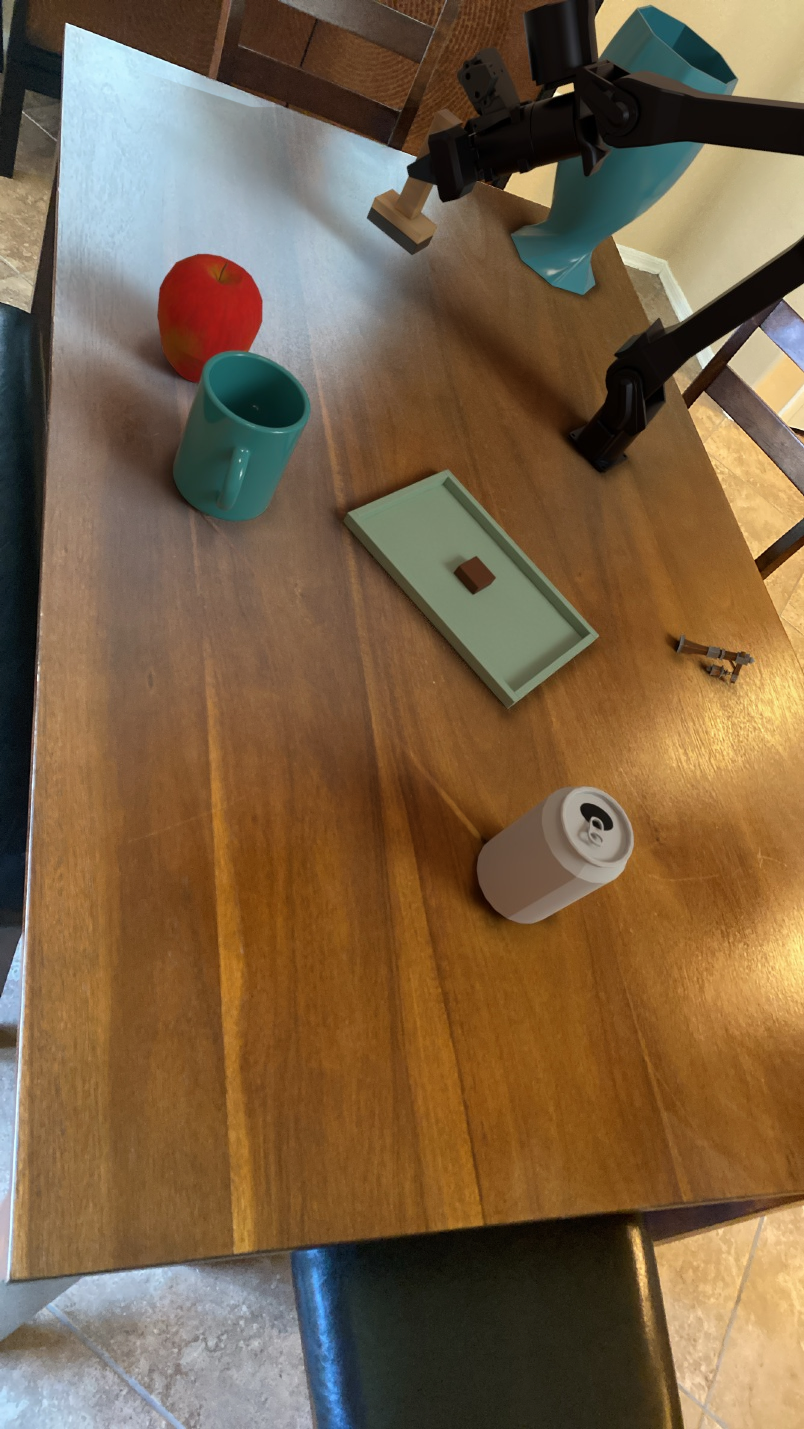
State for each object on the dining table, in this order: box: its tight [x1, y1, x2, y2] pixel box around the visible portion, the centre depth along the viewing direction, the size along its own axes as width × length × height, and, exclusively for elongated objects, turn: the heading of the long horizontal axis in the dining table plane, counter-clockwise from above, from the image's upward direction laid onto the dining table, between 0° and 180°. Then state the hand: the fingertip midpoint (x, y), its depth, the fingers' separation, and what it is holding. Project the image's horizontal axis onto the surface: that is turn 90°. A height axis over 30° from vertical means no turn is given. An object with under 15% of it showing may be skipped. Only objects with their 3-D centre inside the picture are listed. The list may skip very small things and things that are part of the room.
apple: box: [156, 253, 264, 384], centre depth 80 cm, size 9×9×12 cm
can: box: [476, 785, 635, 925], centre depth 66 cm, size 8×8×12 cm
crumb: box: [454, 556, 496, 595], centre depth 85 cm, size 3×3×1 cm
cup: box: [172, 351, 312, 522], centre depth 73 cm, size 9×12×11 cm
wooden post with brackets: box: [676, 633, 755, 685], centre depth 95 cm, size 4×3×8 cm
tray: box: [342, 468, 600, 710], centre depth 85 cm, size 16×24×2 cm, turn 46°
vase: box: [510, 4, 739, 296], centre depth 119 cm, size 17×17×30 cm
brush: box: [366, 108, 464, 256], centre depth 99 cm, size 7×4×14 cm, turn 60°
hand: (413, 168), depth 99 cm, fingers closed on brush, 2 cm apart
